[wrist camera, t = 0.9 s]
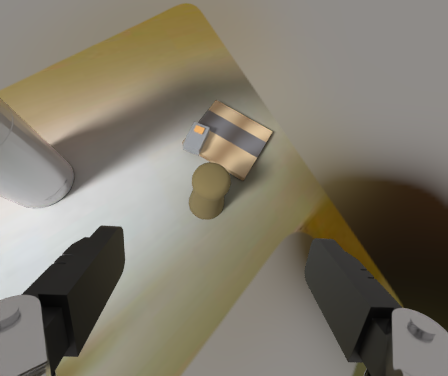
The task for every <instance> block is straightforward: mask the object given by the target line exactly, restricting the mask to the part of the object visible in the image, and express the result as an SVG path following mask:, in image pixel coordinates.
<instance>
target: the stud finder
mask: <svg viewBox="0 0 448 376" xmlns="http://www.w3.org/2000/svg"><path fill="white" fill-rule="evenodd" d="M209 130H210V128H209V127H207V126H204V125H202V124H199V123H196V122H194V123H193V125H192V127H191V129H190V131H189V133H188V135H187V137H186V139H185V140H184V142H183V150H186V151H188V152H191V153H193V154H196V155H198V156H199V154H200V152H201V150H202V148H203V146H204V144H205V142H206V139H207V137H208V135H209Z"/></svg>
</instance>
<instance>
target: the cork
mask: <svg viewBox="0 0 448 376" xmlns="http://www.w3.org/2000/svg"><path fill="white" fill-rule="evenodd" d="M230 185H231V179H230V175H229V172H228V171H227V170H226V168H224V167H223V166H222V165H220V164H217V163H212V162H209V163H204V164H202V165H201V166H199V167H198V168H197V169H196V170H195V172H194V174H193V176H192V186H193V191H192V193H191V196H190V198H189V206H190V210H191V211H192V213H193V214H194V215H195V216H197V217H198V218H201V219H212V218H215V217H216V216H218V215H219V214H220V213H221V212H222V210H223V207H224V196H225V195H226V193H227V192H228V191H229V188H230Z"/></svg>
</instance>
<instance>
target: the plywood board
mask: <svg viewBox="0 0 448 376" xmlns="http://www.w3.org/2000/svg"><path fill="white" fill-rule="evenodd" d="M198 123H199V124H202V125H204V126H207V127H209V128H210V130H209V135H208V137H207V139H206V142H205V144H204V146H203V148H202V150H201V152H200V154H199V155H200V156H201V157H203V158H205V159H206V160H208V161H210V162H212V163H217V164H220V165H222V166H223V167H224V168H226V170H227V171H228V172H229V173H230V174H232V175H234V176H235V177H237V178H239V179H240V180H242V181H244V179H245V177H246V175H247V174H248V172H249V170H250V169H251V167H252V165H253V164H254V162H255V160H256V159H257V157H258V155H259V154H260V152H261V150H262V149H263V147H264V145H265V144H266V142H267V140H268V139H269V137H270V135H271V134H272V131H271V130H269V129H267V128H265V127H264V126H262V125H260V124H258V123H256V122H255V121H253V120H251V119H249V118H248V117H246V116H244V115H242V114H240V113H239V112H237V111H235V110H233V109H232V108H230V107H228V106H226V105H224V104H223V103H221V102H219V101H217V100H216V101H215V102H214V103H213V104H212V106H211V107H210V108H209V109H208V111H207V112H206V113H205V114H204V116H203V117H202V118H201V119H200V121H199V122H198ZM185 139H186V138H185ZM183 142H184V141H183Z"/></svg>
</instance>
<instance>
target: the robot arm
mask: <svg viewBox="0 0 448 376" xmlns="http://www.w3.org/2000/svg"><path fill="white" fill-rule="evenodd" d="M73 180H74V172H73V169H72V167H71V165H70V164H69V163H68V162H67V161H66V160H65V159H64V158H63V157H62V156H61V155H60V154H59V153H58V152H57V151H56V150H55V149H54V148H53V147H52V146H51V145H50V144H48V143H47V142H46V141H45V140H44V139H43V138H42V137H41V136H40V135H39V134H38V133H37V132H36V131H35V130H34V129H33V128H32V127H31V126H29V125H28V124H27V123H26V122H25V121H24V120H23V119H22V118H21V117H20V116H19V115H18V114H17V113H16V112H15V111H14V110H13V109H12V108H10V107H9V106H8V105H7V104H6V103H5V102H4V101H3V100H2V99H1V98H0V196H1V197H3V198H5V199H8V200H10V201H12V202H15V203H17V204H19V205H22V206H25V207H29V208H42V207H46V206H49V205H52V204H54V203H56V202H57V201H59V200H61V199H62V198H63V197H64V196H65V195H66V194H67V193H68V191H69V190H70V188H71V186H72V184H73ZM124 264H125V252H124V236H123V229H122V227H118V226H100V227H99V228H98V229H97V230H96V231H95V232H94V233H93V234H92V235H91V237H90V238H89V237H84V238H83V239H81V240H79V241H77V242H76V243H74V244H72V245H71V246H70V247H69V248H68V249H67V250H66V251H65V252H64V253H63V254H62V256H60V257H59V258H58V259H57V260H56V261H55V262H54V264H52V265H51V266H50V267H49V268H48V269H47V270H46V271H45V272H44V273H43V274H42V275H41V276H40V277H39V278H38V279H37V280H36V281H35V282H34V283H33V284H32V285H31V286H30V287H29V288H28V289H27V290H26V291H25V292H24V293H23V294H22V295H17V296H12V297H9V298H5V299H2V300H0V376H57V373H56V368H57V366H58V365H59V363H60V361H61V359H62V358H63V356H71V357H78V356H79V354H80V352H81V350H82V348H83V346H84V344H85V342H86V341H87V339H88V337H89V335H90V333H91V331H92V329H93V327H94V326H95V324H96V322H97V320H98V318H99V316H100V314H101V312H102V311H103V309H104V307H105V305H106V303H107V301H108V299H109V297H110V296H111V294H112V292H113V290H114V288H115V286H116V284H117V282H118V281H119V279H120V277H121V275H122V272H123V269H124ZM305 278H306V282H307V284H308V286H309V288H310V290H311V292H312V294H313V296H314V298H315V300H316V302H317V304H318V305H319V307H320V309H321V311H322V313H323V315H324V317H325V319H326V320H327V323H328V324H329V326H330V328H331V330H332V332H333V334H334V336H335V338H336V340H337V342H338V344H339V345H340V347H341V349H342V351H343V353H344V355H345V357H346V358H347V361H348V362H363V363H364V365H365V366H366V368H367V369H366V371H365V374H364V376H448V333H447V332H446V331H445V330H444V329H443V328H442V327H441V326H440V325H439V324H437V323H436V322H435V321H433V320H432V319H430V318H429V317H427V316H425V315H423V314H421V313H419V312H416V311H414V310H411V309H406V308H402V307H401V306H400V305H399V304H398V302H397V301H396V300H395V299H394V298H393V297H392V296H391V295H390V294H389V293H388V292H387V291H386V290H385V289H384V287H383V286H382V285H381V284H380V283H379V282H378V281H377V280H376V279H374V277H373V276H372V275H371V273H370V272H369V271H367V269H366V268H365V267H364V266H363V265H362V264H361V263H360V262H359V261H358V260H357V259H356V258H354V257H353V256H351V255H350V254H348V253H347V252H345V251H344V250H343V249H342V248H341V247H340V246H339V245H338V244H337V243H336V241H335V240H333V239H317V238H316V239H314V240H313V241H312V244H311V247H310V251H309V255H308V259H307V263H306V266H305Z"/></svg>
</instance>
